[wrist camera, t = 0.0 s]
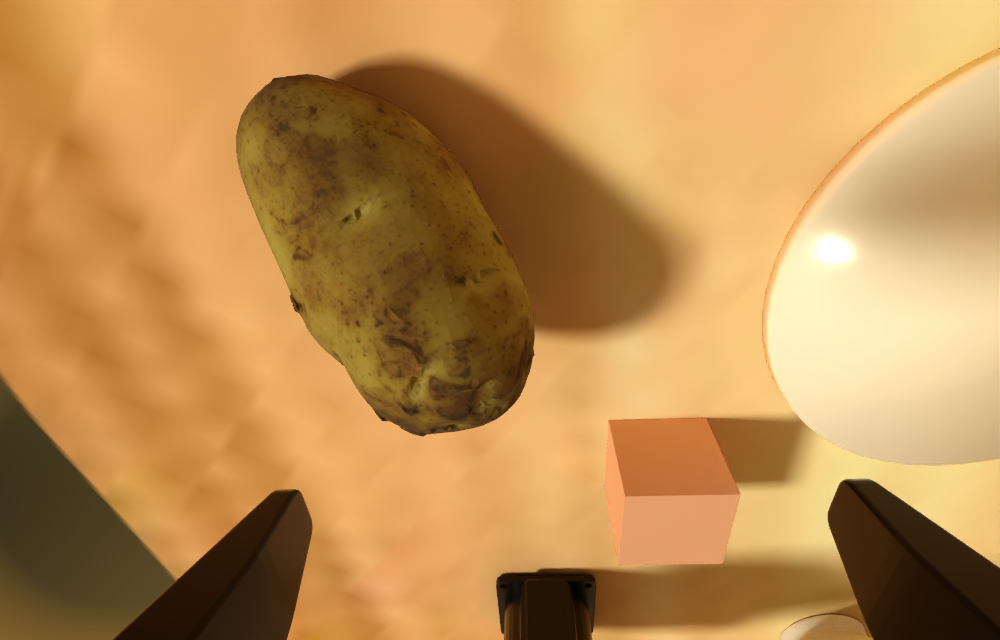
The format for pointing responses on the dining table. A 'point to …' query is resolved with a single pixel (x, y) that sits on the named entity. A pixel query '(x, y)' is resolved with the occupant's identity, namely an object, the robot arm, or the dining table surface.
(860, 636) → the teacup
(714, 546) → the block
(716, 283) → the dining table surface
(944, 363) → the plate
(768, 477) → the dining table surface
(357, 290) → the potato
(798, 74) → the dining table surface
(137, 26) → the dining table surface
